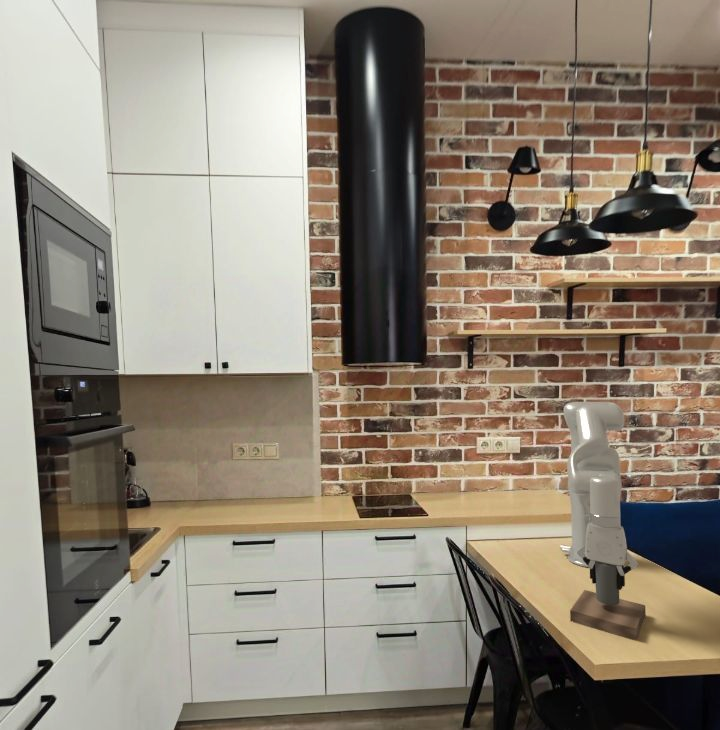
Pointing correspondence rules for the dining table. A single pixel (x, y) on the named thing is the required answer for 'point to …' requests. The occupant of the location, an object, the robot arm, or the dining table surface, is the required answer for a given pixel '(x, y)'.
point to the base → (609, 615)
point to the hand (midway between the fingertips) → (607, 584)
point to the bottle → (606, 583)
